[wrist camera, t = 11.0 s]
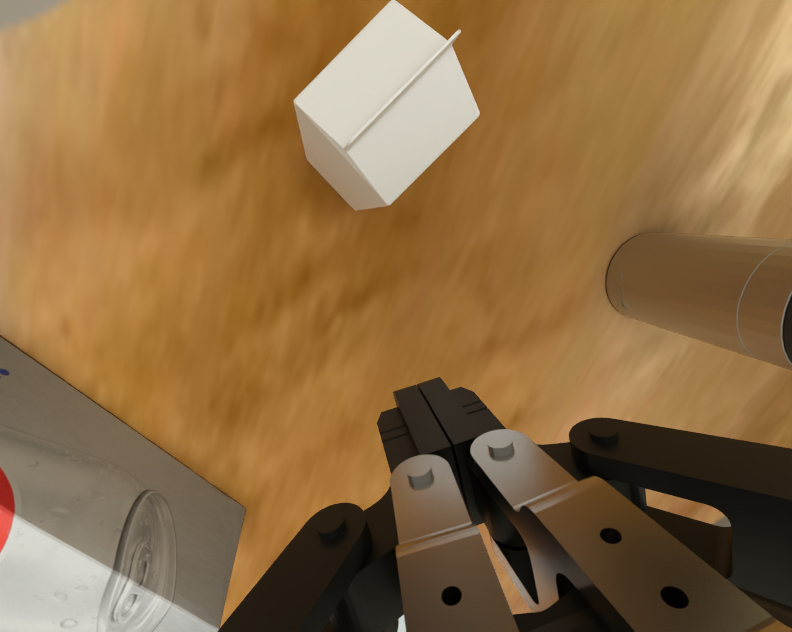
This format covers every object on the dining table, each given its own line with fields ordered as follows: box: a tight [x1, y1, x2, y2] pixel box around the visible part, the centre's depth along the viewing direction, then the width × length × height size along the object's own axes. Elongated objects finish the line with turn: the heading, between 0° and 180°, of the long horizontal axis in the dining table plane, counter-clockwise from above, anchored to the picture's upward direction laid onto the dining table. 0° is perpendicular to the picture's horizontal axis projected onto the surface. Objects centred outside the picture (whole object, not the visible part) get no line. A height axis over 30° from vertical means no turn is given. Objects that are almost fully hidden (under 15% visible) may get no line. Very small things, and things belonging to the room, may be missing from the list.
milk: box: [294, 0, 480, 211], centre depth 25 cm, size 6×6×22 cm
